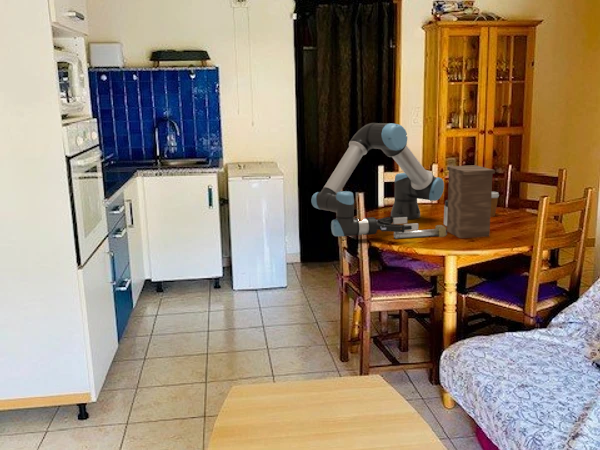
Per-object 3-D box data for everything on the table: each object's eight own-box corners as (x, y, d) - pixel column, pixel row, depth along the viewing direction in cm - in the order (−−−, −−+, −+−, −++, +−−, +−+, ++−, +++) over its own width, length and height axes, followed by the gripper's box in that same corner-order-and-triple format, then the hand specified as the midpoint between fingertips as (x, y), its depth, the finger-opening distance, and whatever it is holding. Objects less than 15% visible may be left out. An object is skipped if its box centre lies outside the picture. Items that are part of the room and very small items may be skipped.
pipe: (393, 237, 269) (393, 227, 268) (443, 234, 273) (443, 224, 272) (396, 239, 265) (396, 230, 264) (447, 236, 269) (447, 226, 268)
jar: (452, 227, 284) (453, 203, 282) (440, 224, 291) (441, 200, 288) (465, 225, 289) (466, 201, 286) (453, 222, 296) (453, 198, 293)
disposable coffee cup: (502, 216, 307) (503, 193, 305) (487, 218, 304) (488, 194, 301) (489, 212, 316) (491, 190, 313) (475, 214, 313) (476, 192, 310)
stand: (445, 230, 280) (447, 166, 273) (472, 228, 282) (475, 165, 276) (462, 239, 263) (464, 171, 256) (491, 237, 265) (495, 170, 258)
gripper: (358, 228, 276) (402, 225, 279) (375, 241, 252) (422, 238, 255) (358, 212, 274) (402, 209, 278) (375, 223, 250) (423, 220, 254)
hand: (412, 223), depth 266 cm, fingers open, 13 cm apart
